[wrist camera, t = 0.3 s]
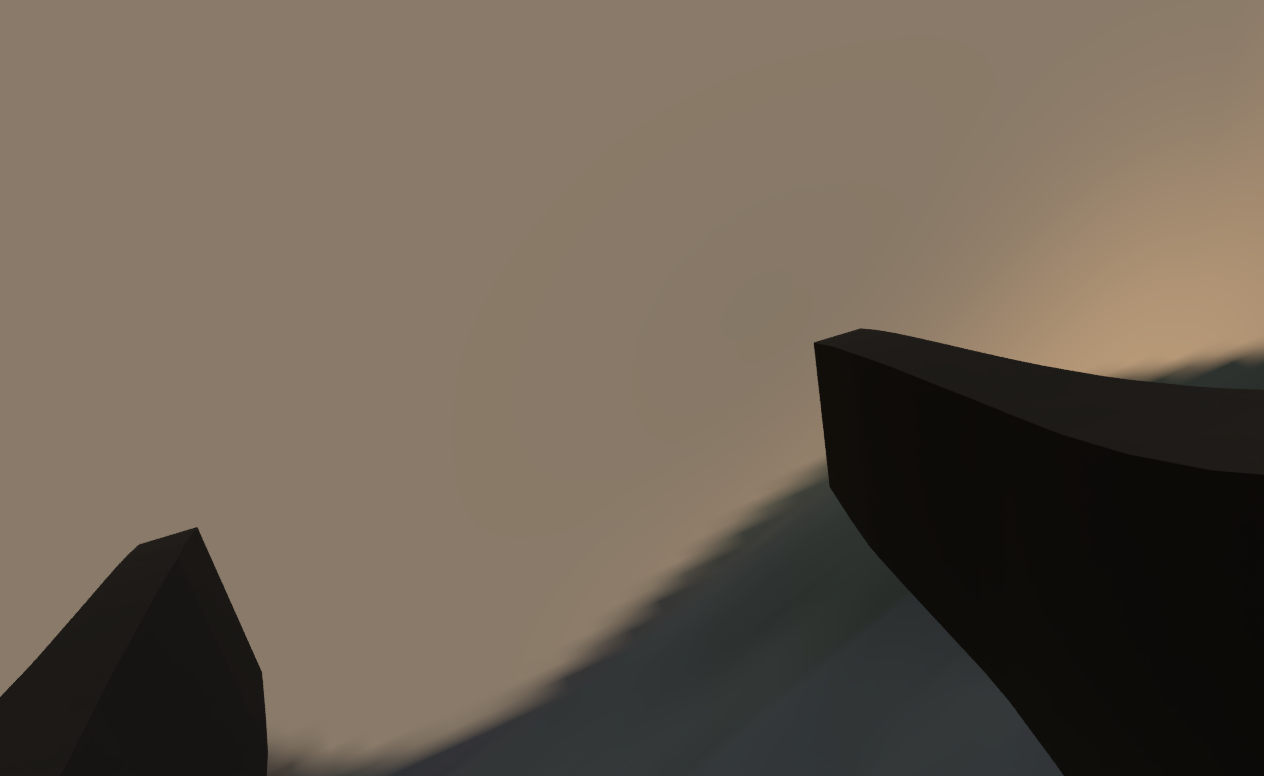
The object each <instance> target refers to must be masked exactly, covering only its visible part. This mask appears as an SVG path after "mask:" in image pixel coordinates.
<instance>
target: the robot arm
mask: <svg viewBox="0 0 1264 776" xmlns="http://www.w3.org/2000/svg"><path fill="white" fill-rule="evenodd" d="M814 349H815V357H816V367H817V376H818V385H819V394H820V402H821V412H822V421H823V429H824V439H825V448H826V457H827V466H828V475H829V484H830V488H831V490H832V491H833V493H834V494H835V496H836V497H837V499H838V500H839V502H840V504H841V505H842V507H843V508H844V510H845V511H846V513H847V514H848V516H849V517H850V519H851V521H852V522H853V523H854V525H855V526H856V528H857V529H858V531H859V532H860V533H861V535H862V536H863V538H864V539H865V541H866V542H867V543H868V545H869V546H870V548H871V549H872V550H873V551H874V552H875V553H876V554H877V556H878V557H879V558H880V559H881V560H882V561H883V562H884V563H885V565H886V566H887V567H888V568H889V569H890V570H891V571H892V572H893V573H894V574H895V576H896V577H897V578H898V579H899V580H900V581H901V582H902V583H903V584H904V585H905V587H906V588H907V589H908V590H909V591H910V592H911V593H912V594H913V595H914V596H915V597H916V599H917V600H918V601H919V602H920V603H921V604H922V605H923V606H924V607H925V608H926V609H927V610H928V611H929V613H930V614H931V615H932V616H933V617H934V618H935V619H936V620H937V621H938V622H939V623H940V624H941V625H942V627H943V628H944V629H945V630H946V631H947V632H948V633H949V634H950V635H951V636H952V637H953V638H954V639H955V641H956V642H957V643H958V644H959V645H960V646H961V647H962V648H963V649H964V650H965V651H966V652H967V654H968V655H969V656H970V657H971V658H972V659H973V660H974V661H975V662H976V663H977V664H978V665H979V666H980V668H981V669H982V670H983V671H984V672H985V673H986V674H987V675H988V677H989V678H990V679H991V680H992V681H993V683H994V684H995V685H996V686H997V687H998V688H999V690H1000V691H1001V692H1002V693H1003V694H1004V696H1005V697H1006V698H1007V699H1008V700H1009V702H1010V703H1011V704H1012V706H1013V707H1014V708H1015V710H1016V711H1017V712H1018V714H1019V715H1020V716H1021V718H1022V719H1023V720H1024V722H1025V723H1026V724H1027V726H1028V727H1029V729H1030V730H1031V731H1032V733H1033V734H1034V735H1035V737H1036V738H1037V739H1038V741H1039V742H1040V743H1041V745H1042V746H1043V748H1044V749H1045V750H1046V752H1047V753H1048V754H1049V756H1050V757H1051V758H1052V760H1053V761H1054V762H1055V764H1056V765H1057V767H1058V768H1059V769H1060V771H1061V772H1062V774H1063V775H1064V776H1264V390H1250V389H1225V388H1209V387H1195V386H1184V385H1175V384H1165V383H1155V382H1145V381H1136V380H1127V379H1120V378H1113V377H1106V376H1099V375H1093V374H1087V373H1082V372H1075V371H1070V370H1064V369H1059V368H1053V367H1047V366H1042V365H1037V364H1032V363H1027V362H1022V361H1017V360H1013V359H1008V358H1004V357H999V356H994V355H990V354H985V353H981V352H977V351H972V350H968V349H964V348H959V347H955V346H951V345H947V344H942V343H938V342H934V341H929V340H925V339H920V338H915V337H911V336H906V335H901V334H897V333H891V332H886V331H878V330H871V329H858V330H854V331H851V332H848V333H844V334H841V335H837V336H834V337H831V338H827V339H824V340H821V341H818V342H814ZM267 759H268V745H267V729H266V714H265V702H264V691H263V679H262V671H261V669H260V667H259V665H258V662H257V660H256V658H255V656H254V653H253V651H252V649H251V647H250V644H249V642H248V640H247V638H246V636H245V633H244V631H243V629H242V626H241V624H240V622H239V620H238V617H237V615H236V613H235V611H234V609H233V606H232V604H231V602H230V600H229V597H228V595H227V593H226V591H225V588H224V586H223V584H222V582H221V579H220V577H219V575H218V573H217V570H216V568H215V566H214V564H213V561H212V559H211V557H210V555H209V553H208V550H207V548H206V546H205V544H204V541H203V539H202V537H201V534H200V532H199V530H198V528H197V527H196V528H193V529H189V530H186V531H183V532H179V533H176V534H173V535H169V536H166V537H163V538H160V539H156V540H153V541H149V542H146V543H143V544H140V545H138V546H137V547H136V548H135V549H134V550H133V551H132V552H130V553H129V554H128V555H127V556H126V558H125V559H124V560H123V561H122V562H121V563H120V564H119V565H118V566H117V567H116V568H115V569H114V570H113V572H112V573H111V574H110V575H109V576H108V577H107V578H106V579H105V581H104V582H103V583H102V584H101V585H100V587H99V588H98V589H97V590H96V591H95V592H94V593H93V595H92V596H91V597H90V598H89V599H88V600H87V602H86V603H85V604H84V605H83V606H82V607H81V609H80V610H79V611H78V612H77V613H76V614H75V616H74V617H73V618H72V619H71V620H70V621H69V622H68V623H67V624H66V626H65V627H64V628H63V629H62V630H61V631H60V633H59V634H58V635H57V636H56V637H55V638H54V639H53V641H52V642H51V643H50V644H49V645H48V646H47V647H46V649H45V650H44V651H43V652H42V653H41V654H40V655H39V657H38V658H37V659H36V660H35V661H34V662H33V663H32V664H31V665H30V666H29V667H28V668H27V670H26V671H25V672H24V673H23V674H22V675H21V676H20V677H19V678H18V679H17V680H16V681H15V682H14V683H13V684H12V685H11V686H10V687H9V688H8V689H7V691H6V692H5V693H4V694H3V695H2V696H1V697H0V776H267Z"/></svg>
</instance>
